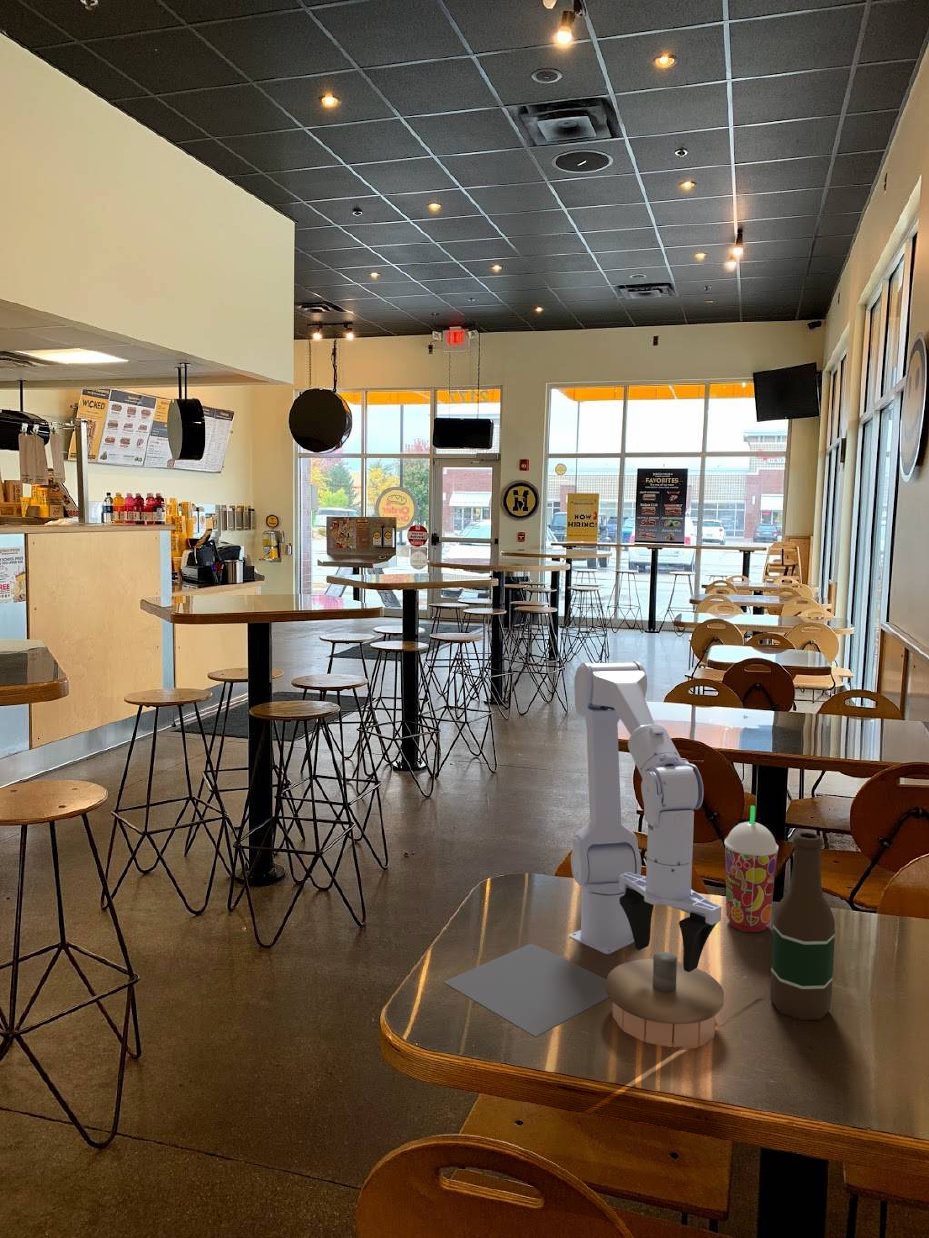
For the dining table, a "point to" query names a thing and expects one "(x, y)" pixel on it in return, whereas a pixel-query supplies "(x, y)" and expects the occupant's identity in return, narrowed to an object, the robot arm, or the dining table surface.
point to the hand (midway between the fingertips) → (665, 957)
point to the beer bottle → (803, 938)
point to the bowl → (666, 1030)
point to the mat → (532, 988)
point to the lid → (664, 990)
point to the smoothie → (750, 875)
